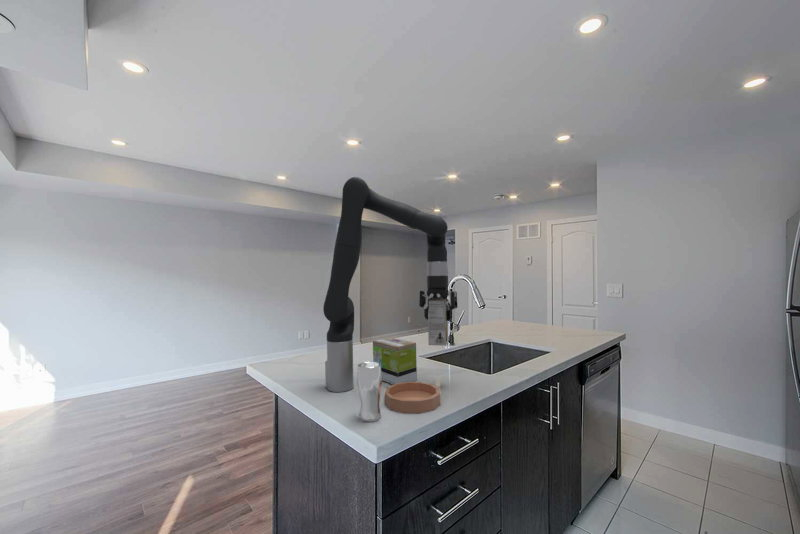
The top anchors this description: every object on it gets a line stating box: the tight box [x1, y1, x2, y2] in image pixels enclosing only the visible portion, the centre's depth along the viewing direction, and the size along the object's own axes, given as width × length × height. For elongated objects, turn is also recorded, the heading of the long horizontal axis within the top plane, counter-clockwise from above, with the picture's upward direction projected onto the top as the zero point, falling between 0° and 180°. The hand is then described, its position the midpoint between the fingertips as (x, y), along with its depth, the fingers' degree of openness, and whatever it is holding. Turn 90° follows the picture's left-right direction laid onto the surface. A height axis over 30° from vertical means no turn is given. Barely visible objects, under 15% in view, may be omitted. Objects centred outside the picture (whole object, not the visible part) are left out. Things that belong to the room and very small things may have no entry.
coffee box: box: [427, 297, 449, 347], centre depth 119 cm, size 9×6×16 cm
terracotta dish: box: [384, 381, 441, 414], centre depth 105 cm, size 17×17×4 cm
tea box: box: [372, 336, 418, 385], centre depth 128 cm, size 15×10×15 cm
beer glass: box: [356, 360, 383, 423], centre depth 95 cm, size 7×7×15 cm
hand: (438, 320), depth 119 cm, fingers closed on coffee box, 8 cm apart
